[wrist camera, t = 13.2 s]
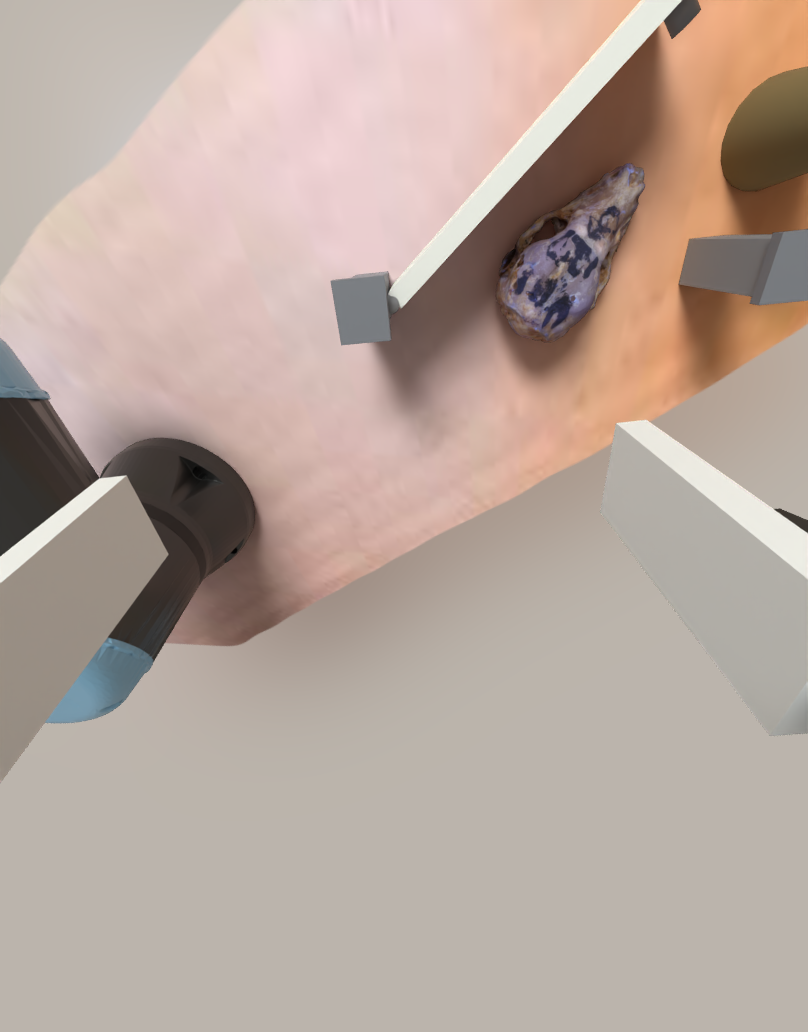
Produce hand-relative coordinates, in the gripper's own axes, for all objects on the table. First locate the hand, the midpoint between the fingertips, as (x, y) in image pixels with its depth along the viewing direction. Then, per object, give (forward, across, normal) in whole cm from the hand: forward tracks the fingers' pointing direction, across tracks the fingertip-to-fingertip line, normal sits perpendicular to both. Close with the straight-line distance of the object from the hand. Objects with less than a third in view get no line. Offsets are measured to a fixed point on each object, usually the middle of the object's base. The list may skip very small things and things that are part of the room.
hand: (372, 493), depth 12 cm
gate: (+27, +10, +9) cm, 30 cm away
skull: (+28, +14, +3) cm, 31 cm away
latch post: (+27, +24, +2) cm, 37 cm away
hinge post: (+28, -1, +2) cm, 28 cm away
